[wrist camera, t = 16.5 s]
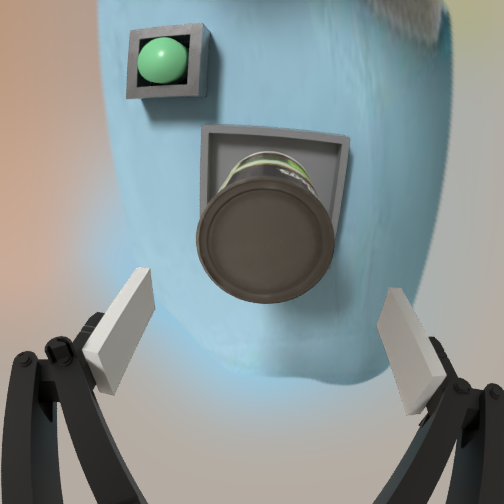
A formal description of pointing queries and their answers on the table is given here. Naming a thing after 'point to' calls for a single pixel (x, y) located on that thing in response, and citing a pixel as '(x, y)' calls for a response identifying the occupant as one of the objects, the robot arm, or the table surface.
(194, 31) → the button housing
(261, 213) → the coffee can
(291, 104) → the table surface
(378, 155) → the table surface
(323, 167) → the shallow gray tray
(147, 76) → the button
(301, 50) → the table surface
